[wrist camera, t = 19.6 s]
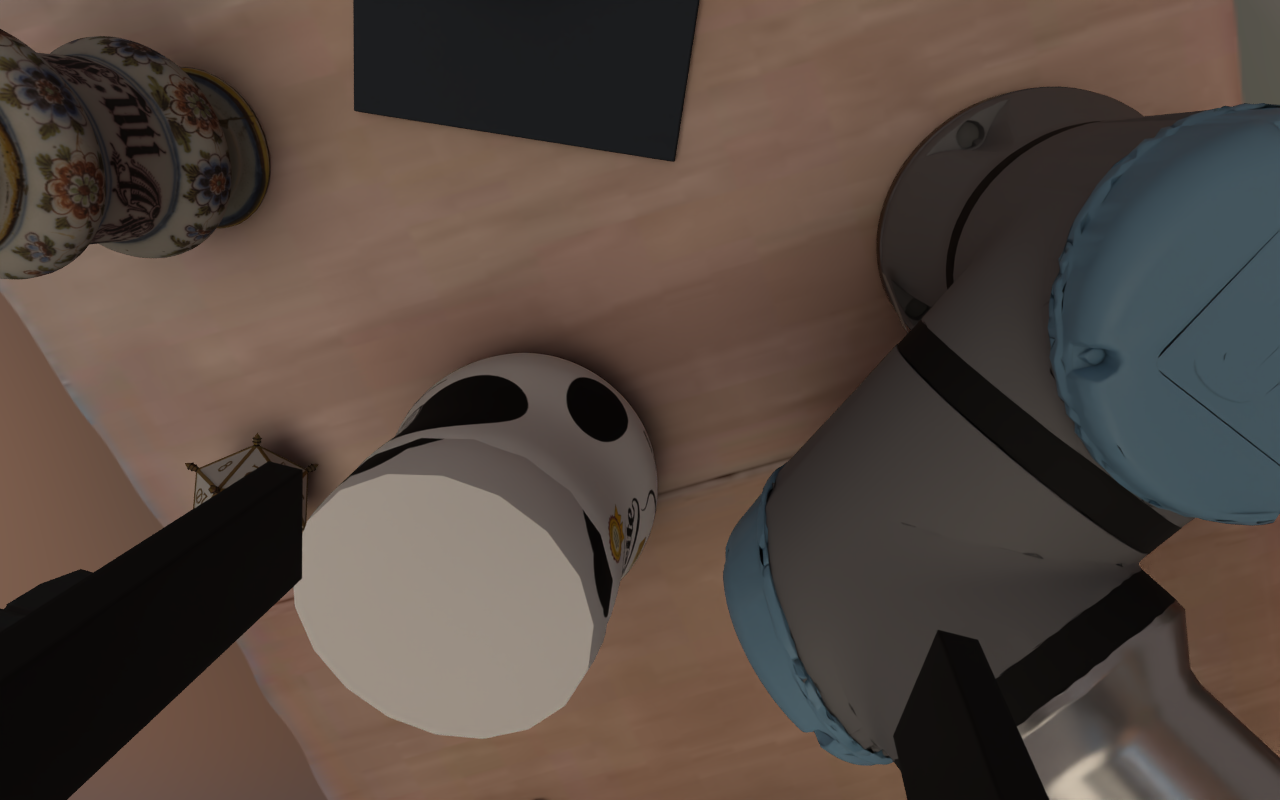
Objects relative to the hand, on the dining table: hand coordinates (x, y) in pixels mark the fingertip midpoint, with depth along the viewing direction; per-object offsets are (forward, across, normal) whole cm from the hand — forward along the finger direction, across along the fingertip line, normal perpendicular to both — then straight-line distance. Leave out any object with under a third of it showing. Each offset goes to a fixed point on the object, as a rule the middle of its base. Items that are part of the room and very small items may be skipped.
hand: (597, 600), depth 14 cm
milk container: (+32, -9, -14) cm, 36 cm away
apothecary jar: (+32, -34, +2) cm, 47 cm away
